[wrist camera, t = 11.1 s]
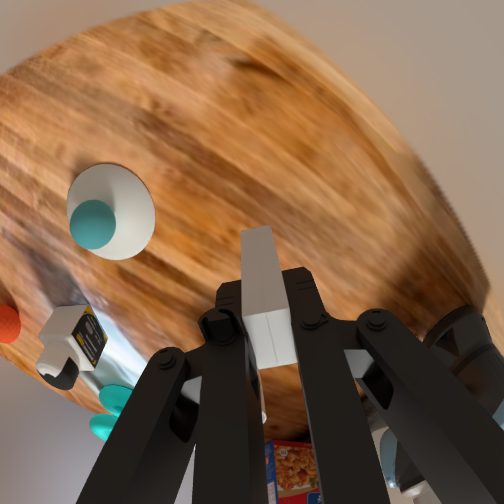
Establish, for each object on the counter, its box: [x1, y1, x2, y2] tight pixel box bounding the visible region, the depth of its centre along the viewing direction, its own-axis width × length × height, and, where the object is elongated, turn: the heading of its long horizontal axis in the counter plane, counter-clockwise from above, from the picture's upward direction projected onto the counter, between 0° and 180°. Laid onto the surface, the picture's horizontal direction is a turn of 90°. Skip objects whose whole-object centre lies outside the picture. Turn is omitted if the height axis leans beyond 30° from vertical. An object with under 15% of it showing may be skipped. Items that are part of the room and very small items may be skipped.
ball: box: [70, 200, 116, 250], centre depth 28 cm, size 6×6×6 cm
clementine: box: [0, 305, 21, 343], centre depth 35 cm, size 8×7×7 cm
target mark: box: [67, 164, 155, 260], centre depth 31 cm, size 12×12×1 cm
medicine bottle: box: [36, 304, 108, 390], centre depth 33 cm, size 7×7×12 cm
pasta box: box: [264, 439, 322, 504], centre depth 50 cm, size 28×8×28 cm, turn 63°
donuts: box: [90, 385, 132, 441], centre depth 44 cm, size 10×10×10 cm
